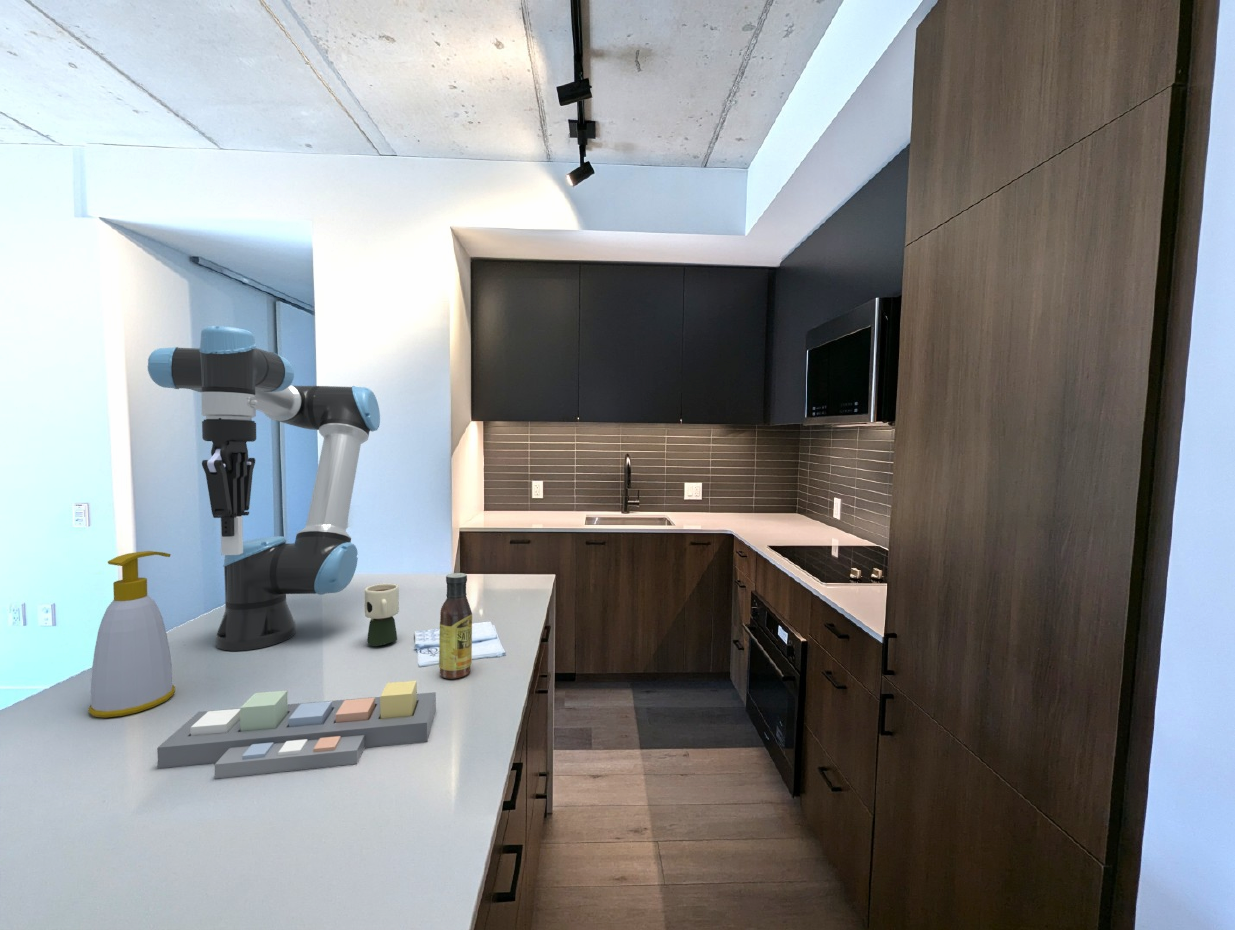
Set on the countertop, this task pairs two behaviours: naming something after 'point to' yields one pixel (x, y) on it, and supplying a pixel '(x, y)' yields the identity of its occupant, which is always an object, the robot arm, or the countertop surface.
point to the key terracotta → (355, 710)
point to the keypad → (295, 741)
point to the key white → (216, 722)
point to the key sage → (264, 711)
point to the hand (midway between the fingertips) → (232, 553)
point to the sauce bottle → (455, 629)
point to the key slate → (311, 714)
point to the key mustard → (399, 699)
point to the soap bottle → (130, 648)
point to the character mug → (381, 613)
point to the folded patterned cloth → (482, 644)
